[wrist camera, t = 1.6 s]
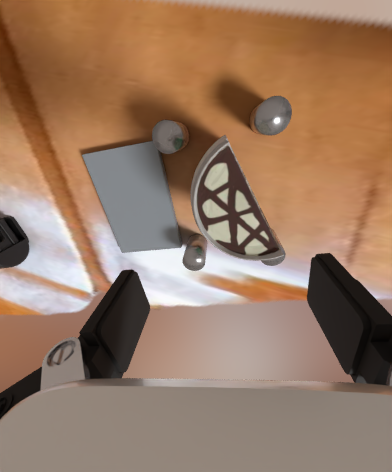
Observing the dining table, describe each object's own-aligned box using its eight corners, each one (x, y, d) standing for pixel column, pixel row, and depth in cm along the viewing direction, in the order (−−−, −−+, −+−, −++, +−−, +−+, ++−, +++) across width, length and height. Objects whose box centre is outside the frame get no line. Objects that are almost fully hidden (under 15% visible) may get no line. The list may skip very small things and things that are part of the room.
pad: (157, 140, 24) (155, 140, 23) (182, 244, 31) (181, 247, 30) (86, 154, 26) (81, 154, 25) (124, 249, 33) (121, 252, 32)
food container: (181, 161, 25) (158, 178, 16) (224, 133, 23) (225, 134, 14) (225, 236, 29) (227, 281, 21) (265, 218, 27) (285, 259, 18)
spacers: (277, 100, 21) (292, 92, 16) (275, 244, 29) (284, 264, 25) (162, 124, 23) (148, 123, 19) (190, 251, 31) (185, 271, 27)
